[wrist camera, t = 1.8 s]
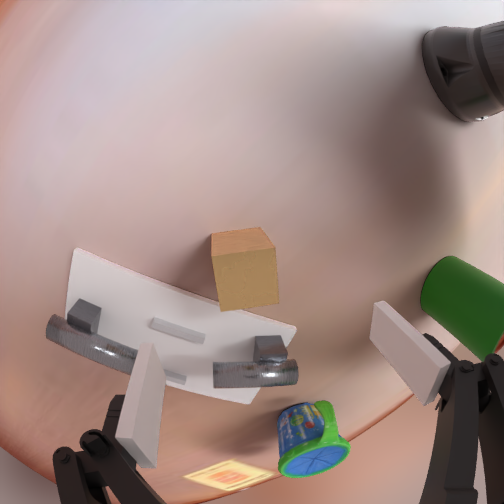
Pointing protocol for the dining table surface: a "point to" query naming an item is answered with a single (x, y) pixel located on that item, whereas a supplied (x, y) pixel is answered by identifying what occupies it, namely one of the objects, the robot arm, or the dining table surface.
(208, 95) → the dining table surface
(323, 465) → the snack cup
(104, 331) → the base plate
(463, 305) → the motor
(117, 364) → the shaft
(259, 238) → the block
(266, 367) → the shaft
